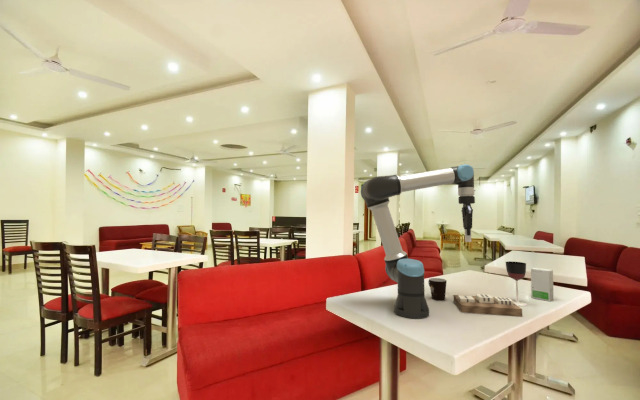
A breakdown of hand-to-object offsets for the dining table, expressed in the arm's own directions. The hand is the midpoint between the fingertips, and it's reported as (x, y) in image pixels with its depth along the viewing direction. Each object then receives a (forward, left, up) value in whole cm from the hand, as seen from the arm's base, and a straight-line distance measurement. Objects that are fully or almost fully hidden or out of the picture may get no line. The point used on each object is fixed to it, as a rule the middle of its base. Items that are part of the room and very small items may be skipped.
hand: (468, 241), depth 146 cm
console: (+4, -9, -30) cm, 32 cm away
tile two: (+4, -9, -27) cm, 29 cm away
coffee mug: (-15, +4, -31) cm, 34 cm away
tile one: (-4, -9, -28) cm, 30 cm away
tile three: (+12, -9, -28) cm, 32 cm away
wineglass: (+22, +3, -31) cm, 38 cm away
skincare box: (+38, +15, -31) cm, 51 cm away
